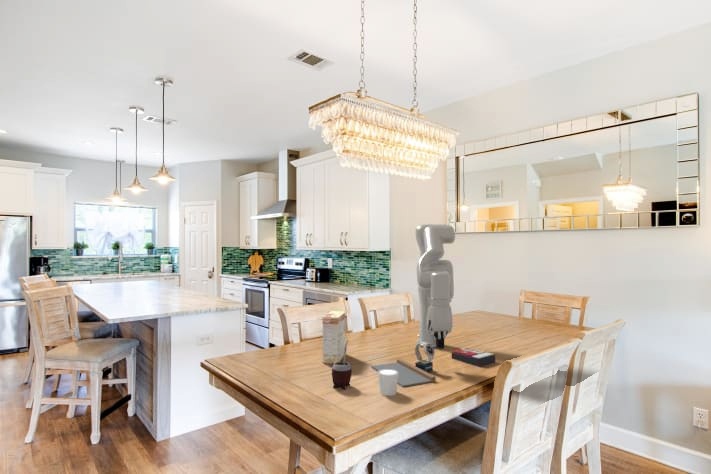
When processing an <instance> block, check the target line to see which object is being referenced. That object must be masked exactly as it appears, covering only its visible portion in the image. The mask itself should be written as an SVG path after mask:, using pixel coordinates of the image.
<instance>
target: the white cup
mask: <svg viewBox="0 0 711 474" xmlns="http://www.w3.org/2000/svg"><path fill="white" fill-rule="evenodd" d="M377 373H378V374H377V375H378V383H379V387H378V388H379V394H381V395H382V396H386V397H391V396H393V397H394V396H395V395H397V391H398V384H397V382H398V371H396V370H393V369H382V370H380V371H377Z"/></svg>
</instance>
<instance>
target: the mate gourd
mask: <svg viewBox="0 0 711 474" xmlns="http://www.w3.org/2000/svg"><path fill="white" fill-rule="evenodd" d="M348 342H349V340H347V339H345V348H344V356H343V361H339V362H337V363H335V364H334V363H333V365H332V367H331V369H332V370H331V378H332V382H333V383H332V384H333V386H332V389H337V388H338V389H339V388H340V389H341V388H342V390H344V391H345V390H347V387H351V384H350V382H351V378H352V374H353V373H352V366H351V364H350V363H349V362H346V355H347V349H348V348H347V347H348Z"/></svg>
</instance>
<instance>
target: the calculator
mask: <svg viewBox="0 0 711 474" xmlns="http://www.w3.org/2000/svg"><path fill="white" fill-rule="evenodd" d="M450 355H451V359H452V360H455V361H458V362H462V363H466V364H468V365H469V364H470V365H471V366H473V367H474V366H475V367H479V368H481V367H485V366H488V365H493V364H495V363H496V354H494V353H491V352H487V351H483V350H479V349H474V348H469V347H465V348H464V347H463V348H461V349H457V350H453V351H452V352H451V353H450Z"/></svg>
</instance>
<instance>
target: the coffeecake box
mask: <svg viewBox="0 0 711 474" xmlns="http://www.w3.org/2000/svg"><path fill="white" fill-rule="evenodd" d="M345 344H346V311H343V310H342V311H341V310H340V311H339V310H331V311H330V312H328V313H327V314H325V315H324V316H322V363H323V364H333V365H334V364H335V363H337V362H341V360H342V359H344V348H345Z"/></svg>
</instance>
